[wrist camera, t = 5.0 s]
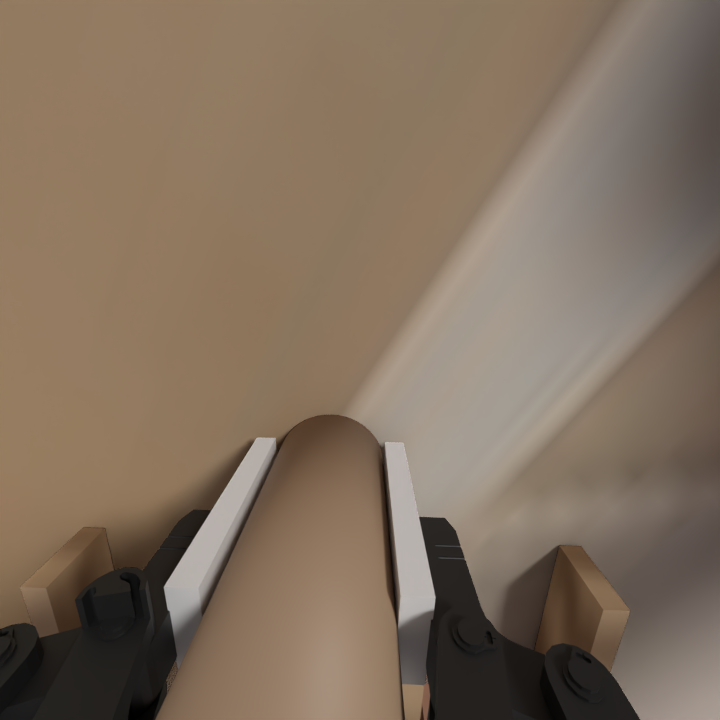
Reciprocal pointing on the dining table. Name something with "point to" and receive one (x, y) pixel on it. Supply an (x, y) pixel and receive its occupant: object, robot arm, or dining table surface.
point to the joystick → (303, 594)
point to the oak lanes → (558, 625)
